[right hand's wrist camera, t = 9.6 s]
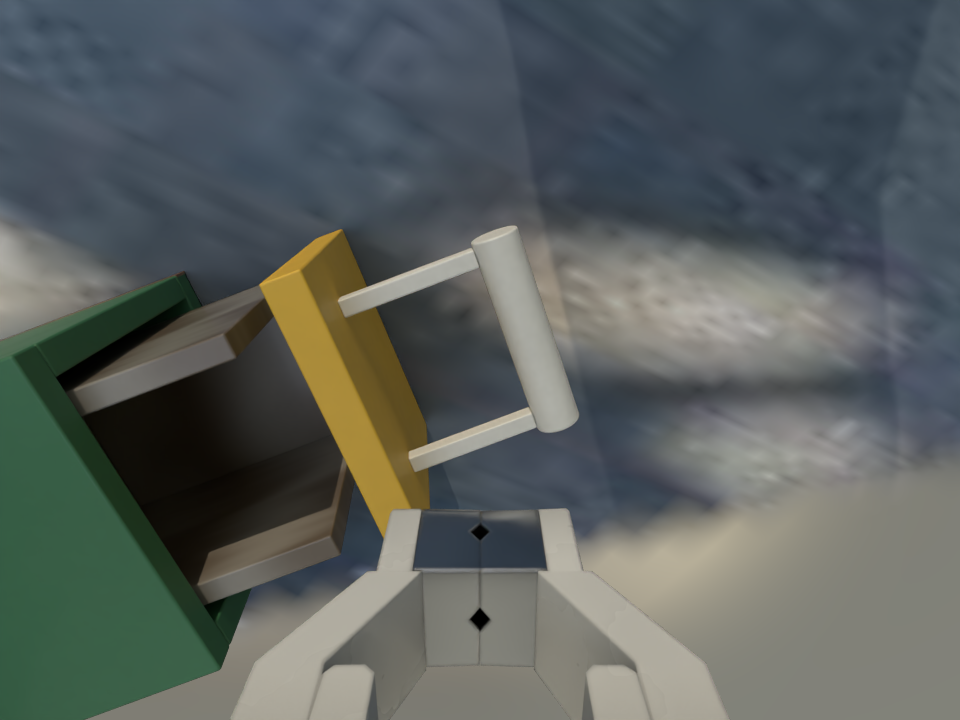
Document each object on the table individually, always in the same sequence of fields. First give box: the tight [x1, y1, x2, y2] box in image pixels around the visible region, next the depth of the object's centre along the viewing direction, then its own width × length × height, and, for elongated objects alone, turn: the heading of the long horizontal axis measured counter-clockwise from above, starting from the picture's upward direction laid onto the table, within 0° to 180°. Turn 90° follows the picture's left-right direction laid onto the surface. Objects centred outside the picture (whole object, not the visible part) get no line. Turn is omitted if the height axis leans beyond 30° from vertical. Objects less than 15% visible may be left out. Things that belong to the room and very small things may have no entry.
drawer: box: [56, 226, 579, 606], centre depth 22 cm, size 20×10×10 cm, turn 110°
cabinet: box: [0, 271, 252, 720], centre depth 22 cm, size 15×11×12 cm
